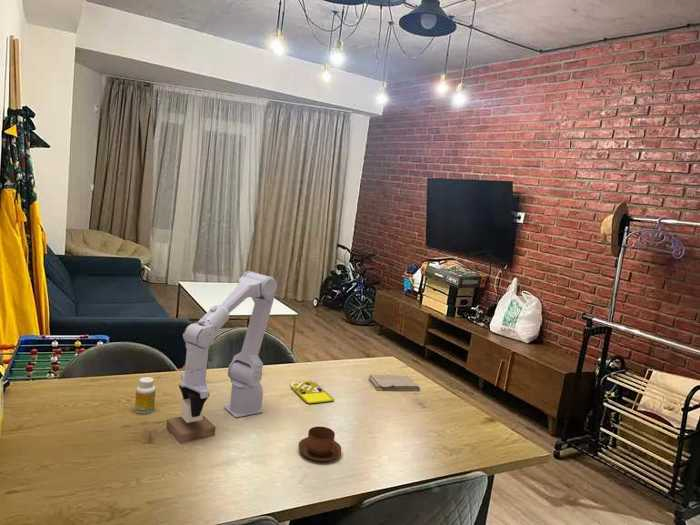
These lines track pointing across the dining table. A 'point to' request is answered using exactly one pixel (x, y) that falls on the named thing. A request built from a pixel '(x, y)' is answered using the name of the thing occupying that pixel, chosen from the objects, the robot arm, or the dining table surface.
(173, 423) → the walnut block
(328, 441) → the cup and saucer
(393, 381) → the washcloth
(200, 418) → the white block
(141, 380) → the supplement bottle
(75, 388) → the dining table surface
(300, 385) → the game console
